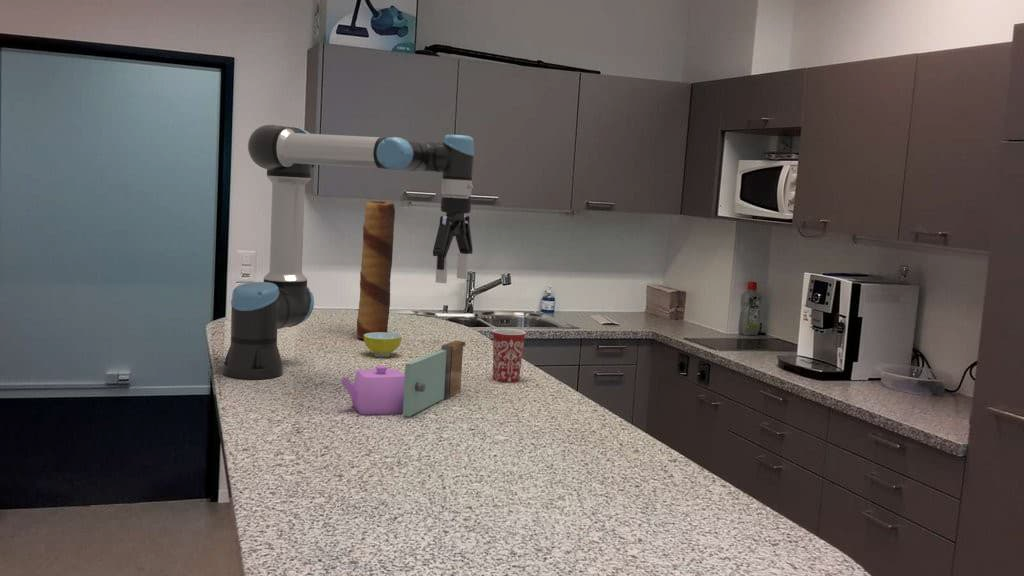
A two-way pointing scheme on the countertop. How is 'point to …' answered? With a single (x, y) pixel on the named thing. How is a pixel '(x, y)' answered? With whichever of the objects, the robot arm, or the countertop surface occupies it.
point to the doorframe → (453, 368)
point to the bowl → (382, 343)
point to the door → (424, 382)
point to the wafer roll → (376, 268)
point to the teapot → (377, 391)
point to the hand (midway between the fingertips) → (451, 280)
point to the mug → (507, 354)
